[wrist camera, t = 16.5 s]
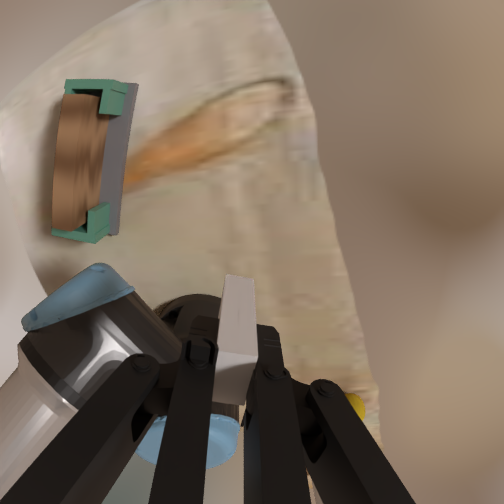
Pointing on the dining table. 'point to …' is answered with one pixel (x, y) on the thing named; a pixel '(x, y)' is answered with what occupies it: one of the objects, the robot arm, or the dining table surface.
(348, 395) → the lemon
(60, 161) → the slat
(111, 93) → the cradle
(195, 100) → the dining table surface
